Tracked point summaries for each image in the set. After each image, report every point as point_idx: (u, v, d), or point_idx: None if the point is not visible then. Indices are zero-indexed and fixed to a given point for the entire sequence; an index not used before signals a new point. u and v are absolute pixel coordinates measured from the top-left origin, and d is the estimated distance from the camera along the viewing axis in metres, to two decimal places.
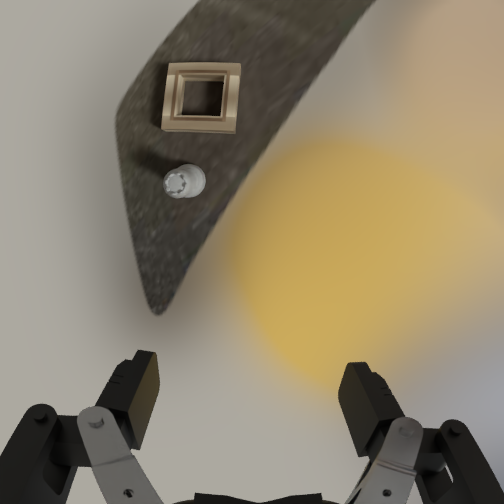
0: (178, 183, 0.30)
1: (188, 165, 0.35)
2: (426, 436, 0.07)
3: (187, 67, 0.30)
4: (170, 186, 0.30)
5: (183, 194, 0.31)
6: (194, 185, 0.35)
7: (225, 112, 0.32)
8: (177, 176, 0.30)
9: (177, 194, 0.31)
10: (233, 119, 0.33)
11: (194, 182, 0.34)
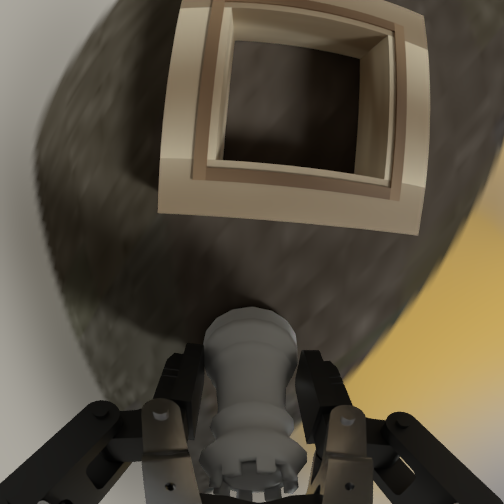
0: (263, 480, 0.06)
1: (256, 325, 0.12)
2: (372, 427, 0.08)
3: None
4: (234, 484, 0.07)
5: None
6: None
7: (399, 166, 0.09)
8: None
9: (256, 492, 0.07)
10: (420, 195, 0.09)
11: (285, 394, 0.10)
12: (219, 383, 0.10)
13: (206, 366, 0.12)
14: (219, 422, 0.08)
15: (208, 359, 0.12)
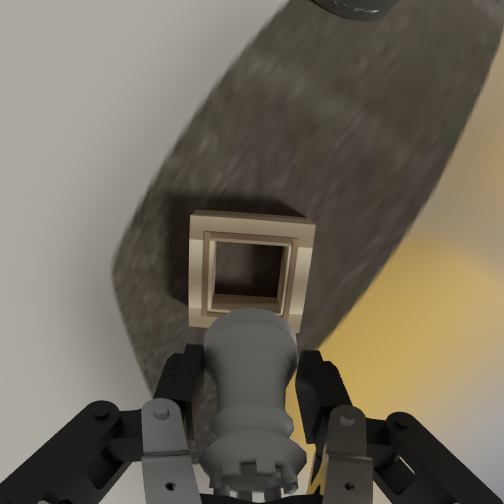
0: (263, 481, 0.06)
1: (256, 326, 0.12)
2: (372, 427, 0.08)
3: (224, 227, 0.21)
4: (233, 485, 0.07)
5: None
6: None
7: (288, 308, 0.23)
8: None
9: (256, 492, 0.07)
10: (299, 317, 0.23)
11: None
12: (219, 384, 0.10)
13: (206, 366, 0.12)
14: (219, 423, 0.08)
15: (208, 360, 0.12)
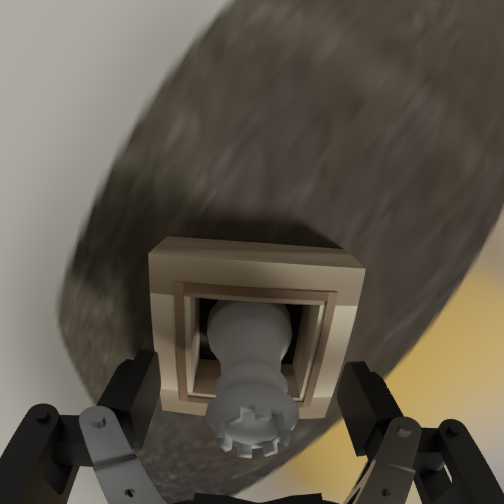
0: (261, 431, 0.08)
1: (254, 303, 0.14)
2: (424, 436, 0.07)
3: (208, 275, 0.12)
4: (235, 436, 0.08)
5: None
6: None
7: (311, 391, 0.14)
8: None
9: (255, 447, 0.09)
10: (327, 400, 0.14)
11: (280, 363, 0.12)
12: (222, 352, 0.12)
13: (210, 341, 0.14)
14: (223, 382, 0.10)
15: (212, 334, 0.14)
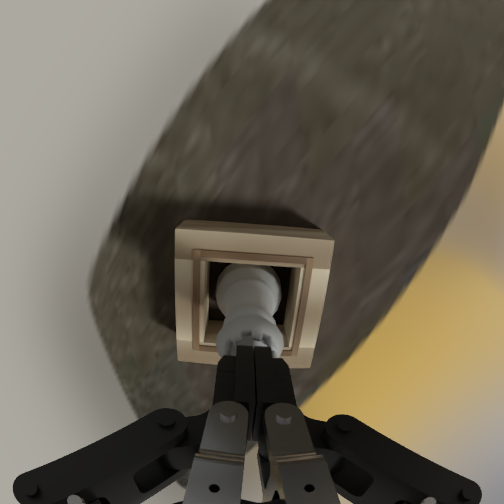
0: None
1: (252, 268, 0.18)
2: (313, 428, 0.08)
3: (218, 244, 0.16)
4: None
5: None
6: None
7: (297, 341, 0.18)
8: None
9: None
10: (311, 351, 0.18)
11: (271, 314, 0.17)
12: (228, 303, 0.17)
13: (218, 299, 0.19)
14: (228, 320, 0.15)
15: (220, 293, 0.18)
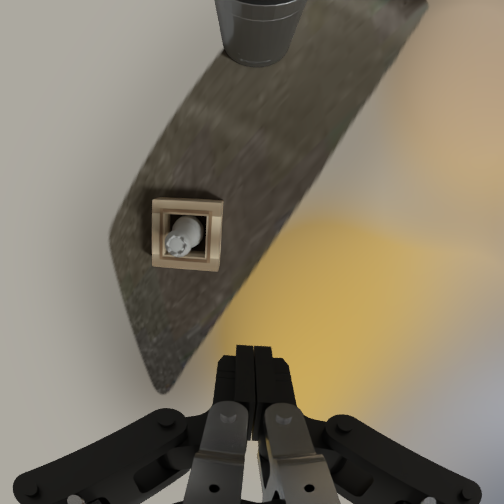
0: (179, 245, 0.33)
1: (187, 218, 0.38)
2: (313, 428, 0.08)
3: (170, 206, 0.36)
4: (171, 247, 0.33)
5: (183, 254, 0.34)
6: (194, 240, 0.37)
7: (209, 254, 0.38)
8: (177, 238, 0.33)
9: (178, 254, 0.33)
10: (216, 261, 0.38)
11: (193, 237, 0.37)
12: None
13: None
14: None
15: (173, 230, 0.38)
